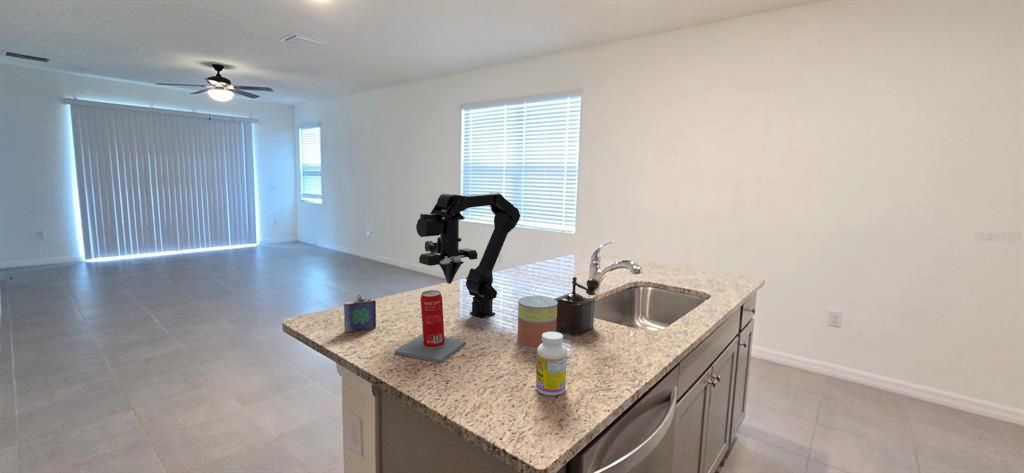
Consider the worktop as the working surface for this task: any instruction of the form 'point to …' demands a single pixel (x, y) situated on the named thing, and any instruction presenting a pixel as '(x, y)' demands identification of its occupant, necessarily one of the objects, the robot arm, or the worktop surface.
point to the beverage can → (432, 319)
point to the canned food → (535, 319)
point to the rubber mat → (436, 354)
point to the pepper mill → (576, 309)
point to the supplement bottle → (551, 365)
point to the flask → (359, 315)
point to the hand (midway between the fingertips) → (449, 283)
